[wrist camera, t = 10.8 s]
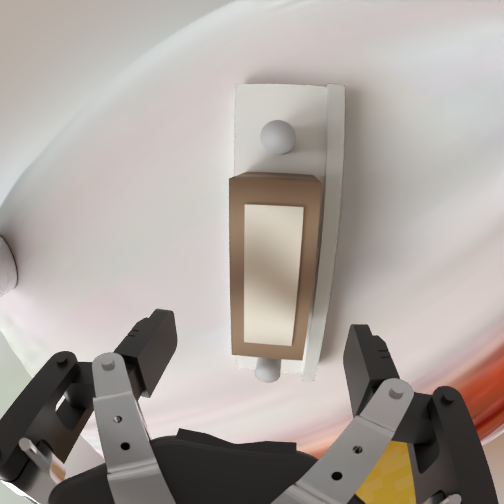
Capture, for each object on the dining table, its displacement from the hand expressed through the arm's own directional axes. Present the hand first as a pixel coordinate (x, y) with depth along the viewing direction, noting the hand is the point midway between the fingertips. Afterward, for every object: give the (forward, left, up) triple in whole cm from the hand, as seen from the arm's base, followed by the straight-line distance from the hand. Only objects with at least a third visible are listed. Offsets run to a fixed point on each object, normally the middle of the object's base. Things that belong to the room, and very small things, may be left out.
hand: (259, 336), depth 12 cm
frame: (0, 0, -11) cm, 11 cm away
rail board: (+1, 0, -13) cm, 13 cm away
